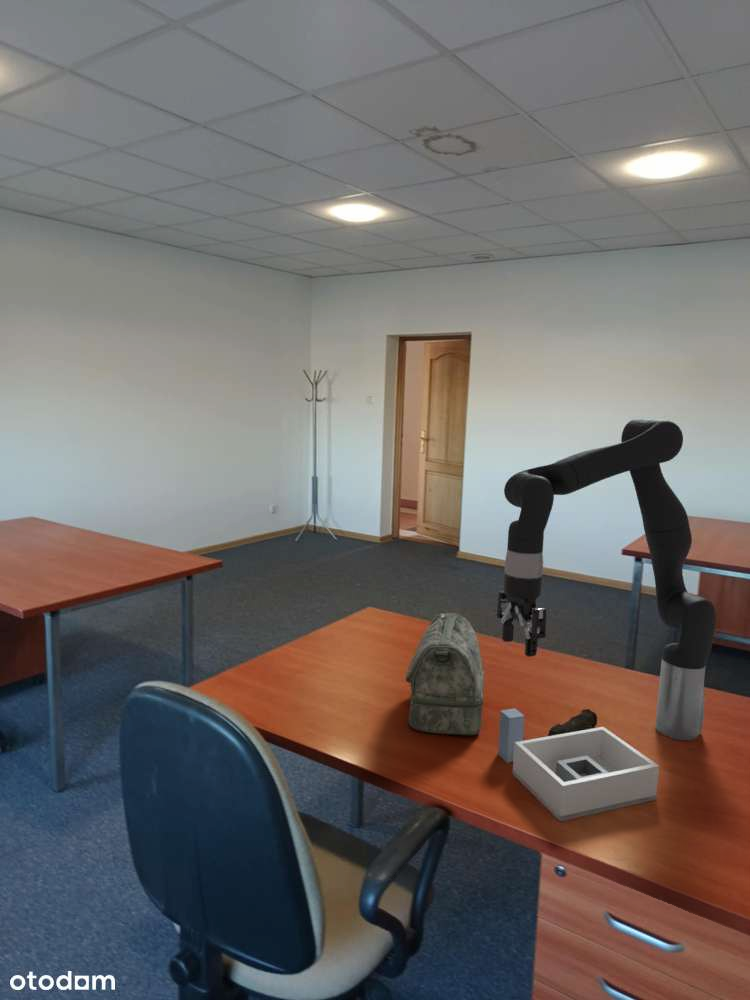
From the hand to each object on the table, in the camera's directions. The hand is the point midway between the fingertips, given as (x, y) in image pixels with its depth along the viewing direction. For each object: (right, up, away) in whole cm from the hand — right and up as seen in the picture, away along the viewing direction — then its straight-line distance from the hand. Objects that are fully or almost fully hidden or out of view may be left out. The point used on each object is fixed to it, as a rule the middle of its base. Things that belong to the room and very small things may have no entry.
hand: (518, 648), depth 134 cm
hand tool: (+15, -24, +14) cm, 32 cm away
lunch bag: (-12, -22, +25) cm, 35 cm away
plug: (-1, -25, +5) cm, 25 cm away
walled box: (+12, -26, -5) cm, 29 cm away
